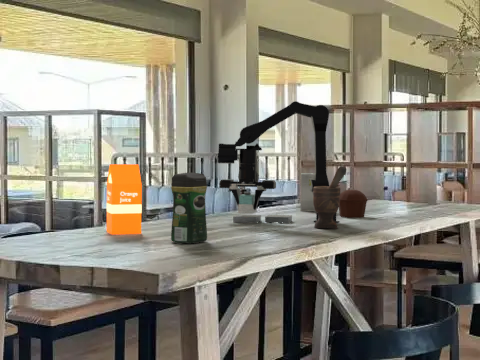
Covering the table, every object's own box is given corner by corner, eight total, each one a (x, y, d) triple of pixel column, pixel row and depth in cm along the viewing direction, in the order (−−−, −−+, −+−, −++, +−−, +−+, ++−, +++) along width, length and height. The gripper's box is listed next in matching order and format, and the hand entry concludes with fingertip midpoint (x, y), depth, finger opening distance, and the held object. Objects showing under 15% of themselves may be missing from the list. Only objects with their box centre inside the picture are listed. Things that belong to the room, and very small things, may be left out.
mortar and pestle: (352, 228, 250) (353, 165, 249) (342, 230, 243) (343, 166, 242) (319, 226, 256) (320, 164, 255) (308, 228, 248) (309, 165, 247)
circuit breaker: (319, 208, 327) (319, 172, 326) (319, 211, 313) (319, 174, 312) (301, 208, 328) (301, 172, 327) (300, 211, 314) (300, 173, 313)
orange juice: (106, 231, 232) (106, 164, 231) (135, 230, 235) (136, 164, 235) (111, 234, 225) (112, 164, 224) (141, 233, 228) (142, 164, 227)
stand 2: (291, 221, 272) (291, 215, 272) (288, 223, 264) (288, 217, 264) (269, 220, 273) (269, 214, 273) (265, 222, 266) (265, 216, 266)
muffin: (373, 217, 289) (373, 190, 289) (346, 218, 285) (347, 191, 284) (356, 215, 300) (357, 188, 300) (331, 215, 296) (331, 189, 296)
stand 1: (260, 220, 271) (260, 215, 271) (256, 223, 263) (256, 217, 263) (238, 220, 273) (238, 214, 273) (233, 222, 265) (233, 216, 265)
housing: (252, 213, 264) (252, 193, 264) (238, 213, 265) (238, 192, 265) (256, 211, 271) (256, 192, 270) (242, 211, 272) (242, 191, 271)
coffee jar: (188, 239, 216) (189, 171, 215) (211, 241, 211) (212, 172, 210) (165, 242, 208) (165, 172, 207) (188, 245, 203) (189, 173, 202)
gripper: (278, 163, 273) (278, 208, 274) (226, 162, 277) (225, 207, 277) (273, 164, 262) (273, 211, 263) (219, 163, 266) (218, 209, 267)
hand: (247, 209), depth 268 cm, fingers closed on housing, 5 cm apart
